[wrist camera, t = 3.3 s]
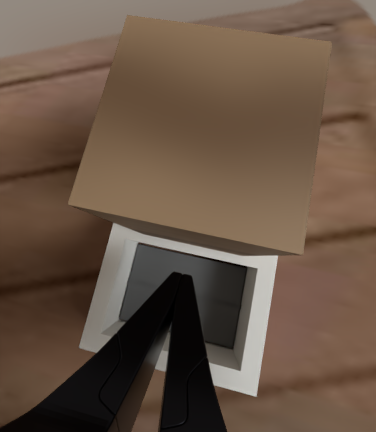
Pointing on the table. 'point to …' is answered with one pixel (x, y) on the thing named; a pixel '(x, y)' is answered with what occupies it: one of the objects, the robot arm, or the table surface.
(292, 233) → the walnut block
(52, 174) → the table surface
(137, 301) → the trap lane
